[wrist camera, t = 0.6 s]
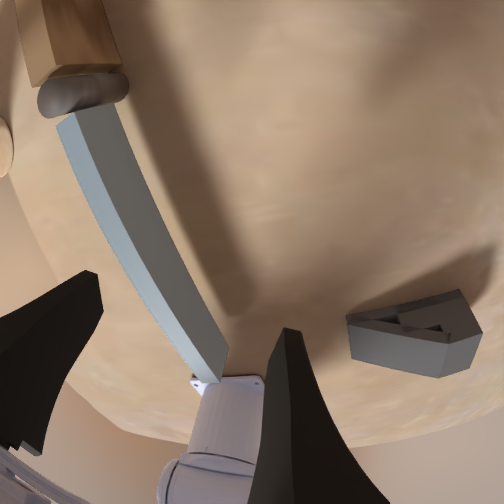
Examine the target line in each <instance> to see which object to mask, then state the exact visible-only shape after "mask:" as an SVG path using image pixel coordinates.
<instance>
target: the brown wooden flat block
mask: <svg viewBox="0 0 504 504" xmlns="http://www.w3.org/2000/svg"><path fill="white" fill-rule="evenodd" d="M15 6H16V14H17V21H18V27H19V33H20V39H21V44H22V49H23V54H24V58H25V62H26V67H27V71H28V74H29V78H30V82H31V86H32V88H34V87H39V86H41V88H40V90H39V93H38V98H37V104H38V109H39V111H40V113H41V115H42V116H44V117H45V118H54V117H57V116H61V115H64V114H68V113H72V112H75V111H79V110H83V109H88V108H92V107H96V106H101V105H106V104H111V103H116V102H119V101H121V100H122V99H124V98H125V96H126V95H127V92H128V89H129V83H128V80H127V78H126V76H125V75H123V74H121V73H108V72H109V71H111V70H113V69H114V68H116V67H117V66H119V65H121V64H122V62H121V60H120V57H119V54H118V51H117V48H116V45H115V42H114V39H113V36H112V33H111V30H110V26H109V23H108V20H107V17H106V14H105V10H104V7H103V4H102V1H101V0H15Z"/></svg>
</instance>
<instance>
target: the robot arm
mask: <svg viewBox="0 0 504 504" xmlns="http://www.w3.org/2000/svg"><path fill="white" fill-rule="evenodd" d="M103 312H104V310H103V304H102V299H101V293H100V287H99V281H98V274H96V273H93V272H90V271H87V270H84V271H82V272H80V273H79V274H77V275H75V276H73V277H72V278H70V279H68V280H67V281H65V282H63V283H62V284H60V285H58V286H57V287H55V288H53V289H52V290H50V291H48V292H47V293H45V294H44V295H42V296H40V297H38V298H37V299H35V300H33V301H32V302H30V303H28V304H26V305H24V306H23V307H21V308H19V309H17V310H15V311H13V312H11V313H9V314H7V315H5V316H3V317H1V318H0V504H51V501H50V500H49V499H48V498H47V497H49V498H51V499H52V500H54V501H55V502H57V503H59V504H92V503H90V502H88V501H86V500H84V499H82V498H80V497H78V496H76V495H74V494H73V493H71V492H69V491H67V490H65V489H64V488H62V487H60V486H58V485H57V484H55V483H53V482H52V481H50V480H48V479H47V478H45V477H44V476H42V475H41V474H39V473H38V472H36V471H35V470H33V469H32V468H30V467H29V466H27V465H26V464H25V463H23V462H22V461H21V460H19V459H18V458H16V457H15V456H14V455H13V454H11V453H10V452H9V451H8V450H9V448H10V446H11V447H13V448H14V449H15V450H18V449H19V447H20V446H21V447H23V448H24V449H25V450H27V451H28V452H30V453H31V454H33V455H34V456H40V455H42V450H43V445H44V440H45V435H46V431H47V427H48V423H49V420H50V416H51V413H52V410H53V408H54V405H55V402H56V399H57V397H58V394H59V392H60V389H61V387H62V385H63V382H64V380H65V378H66V376H67V375H68V373H69V371H70V369H71V368H72V366H73V364H74V363H75V361H76V360H77V358H78V356H79V355H80V353H81V352H82V350H83V348H84V347H85V345H86V344H87V342H88V340H89V339H90V337H91V336H92V334H93V333H94V331H95V329H96V327H97V325H98V323H99V320H100V318H101V316H102V314H103ZM190 383H191V384H192V385H193V386H194V388H195V389H196V390H197V391H198V392H199V394H200V395H201V396H202V399H201V402H200V406H199V410H198V413H197V417H196V420H195V424H194V427H193V431H192V435H191V438H190V442H189V445H188V449H187V453H181V456H180V459H173V460H172V461H170V462H169V463H167V464H166V465H165V467H164V469H163V471H162V473H161V475H160V479H159V482H158V486H157V501H158V504H390V502H389V501H388V500H387V499H386V498H385V497H384V495H383V494H382V493H381V492H380V491H379V490H378V489H377V487H376V486H375V485H374V484H373V483H372V482H371V480H370V479H369V478H368V476H366V474H365V473H364V471H363V470H362V468H361V467H360V466H359V464H358V462H357V461H356V459H355V458H354V456H353V455H352V453H351V452H350V451H349V449H348V447H347V446H346V444H345V442H344V440H343V439H342V437H341V435H340V433H339V431H338V429H337V427H336V426H335V424H334V422H333V420H332V418H331V415H330V413H329V411H328V409H327V407H326V404H325V402H324V400H323V397H322V395H321V392H320V390H319V387H318V384H317V381H316V379H315V376H314V373H313V370H312V367H311V364H310V361H309V358H308V354H307V351H306V347H305V344H304V340H303V336H302V333H301V331H298V330H293V329H288V328H283V330H282V333H281V335H280V337H279V339H278V341H277V344H276V346H275V348H274V350H273V352H272V355H271V357H270V359H269V363H268V368H267V373H266V379H265V385H264V383H263V381H262V379H261V378H260V377H259V376H238V377H222V378H221V382H220V383H201V382H200V381H199V379H198V378H191V379H190ZM15 475H17V476H18V477H20V478H21V479H22V480H24V481H25V482H26V483H28V484H29V485H31V486H32V487H34V488H35V489H34V488H32V487H31V486H29V485H27V484H26V483H24V482H22V481H20V480H18V479H16V478H15ZM36 489H37V490H36ZM39 491H40V492H41V493H40V492H39ZM42 493H43V494H44V495H46V496H47V497H45V496H44V495H43V494H42Z"/></svg>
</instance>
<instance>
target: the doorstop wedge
mask: <svg viewBox="0 0 504 504" xmlns="http://www.w3.org/2000/svg"><path fill="white" fill-rule="evenodd" d="M346 318H347V326H348V333H349V341H350V350H351V358H352V359H355V360H358V361H362V362H366V363H370V364H374V365H379V366H383V367H387V368H391V369H396V370H400V371H405V372H409V373H414V374H419V375H424V376H429V377H434V378H441V377H445V376H448V375H451V374H454V373H457V372H460V371H463V370H466V369H469V368H470V365H471V363H472V361H473V358H474V356H475V353H476V351H477V348H478V345H479V343H480V340H481V337H482V334H483V332H482V330H481V328H480V326H479V324H478V322H477V320H476V318H475V316H474V314H473V313H472V311H471V309H470V307H469V305H468V303H467V302H466V300H465V298H464V296H463V295H462V293H461V291H460V290H459V289H458V290H455V291H451V292H448V293H444V294H440V295H437V296H433V297H429V298H425V299H421V300H417V301H413V302H409V303H404V304H400V305H396V306H391V307H387V308H382V309H377V310H373V311H368V312H363V313H358V314H353V315H347V316H346Z"/></svg>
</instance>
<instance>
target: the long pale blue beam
mask: <svg viewBox="0 0 504 504" xmlns="http://www.w3.org/2000/svg"><path fill="white" fill-rule="evenodd" d="M56 129H57V132H58V134H59V137H60V140H61V142H62V145H63V147H64V150H65V152H66V155H67V157H68V160H69V162H70V164H71V167H72V169H73V171H74V174H75V176H76V178H77V180H78V183H79V185H80V187H81V189H82V191H83V194H84V196H85V198H86V200H87V202H88V204H89V206H90V208H91V210H92V212H93V214H94V216H95V218H96V220H97V222H98V224H99V226H100V228H101V230H102V232H103V234H104V235H105V237H106V239H107V241H108V243H109V245H110V247H111V248H112V250H113V252H114V254H115V255H116V257H117V259H118V261H119V263H120V264H121V266H122V268H123V269H124V271H125V273H126V274H127V276H128V278H129V279H130V281H131V283H132V284H133V286H134V288H135V289H136V291H137V292H138V294H139V296H140V297H141V299H142V300H143V302H144V304H145V305H146V307H147V308H148V310H149V311H150V313H151V314H152V316H153V317H154V319H155V320H156V322H157V323H158V325H159V326H160V328H161V329H162V330H163V332H164V333H165V335H166V336H167V338H168V339H169V340H170V342H171V343H172V345H173V346H174V347H175V349H176V350H177V352H178V353H179V354H180V356H181V357H182V358H183V360H184V361H185V362H186V364H187V365H188V366H189V368H190V369H191V370H192V372H193V373H194V374H195V375H196V377H197V378H198V379H199V381H200V382H201V383H220V382H221V378H222V374H223V370H224V366H225V362H226V358H227V354H228V350H229V346H228V344H227V342H226V341H225V339H224V337H223V335H222V334H221V332H220V330H219V328H218V326H217V325H216V323H215V321H214V319H213V317H212V316H211V314H210V312H209V310H208V308H207V306H206V305H205V303H204V301H203V299H202V297H201V295H200V293H199V291H198V289H197V288H196V286H195V284H194V282H193V280H192V278H191V276H190V274H189V272H188V270H187V268H186V266H185V264H184V262H183V260H182V258H181V256H180V254H179V252H178V250H177V248H176V246H175V244H174V242H173V240H172V238H171V236H170V234H169V232H168V230H167V227H166V225H165V223H164V221H163V219H162V217H161V215H160V213H159V210H158V208H157V206H156V204H155V202H154V199H153V197H152V195H151V193H150V190H149V188H148V186H147V184H146V181H145V179H144V177H143V175H142V172H141V170H140V168H139V165H138V163H137V160H136V158H135V156H134V153H133V151H132V148H131V146H130V144H129V141H128V139H127V136H126V134H125V131H124V129H123V126H122V123H121V121H120V118H119V116H118V113H117V110H116V108H115V105H114V103H111V104H106V105H101V106H96V107H92V108H88V109H84V110H80V111H76V112H73V113H72V114H71V115H69V116H68V117H67V118H65V119H64V120H63V121H61V122H60V123H59V124H58V125H56Z"/></svg>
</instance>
